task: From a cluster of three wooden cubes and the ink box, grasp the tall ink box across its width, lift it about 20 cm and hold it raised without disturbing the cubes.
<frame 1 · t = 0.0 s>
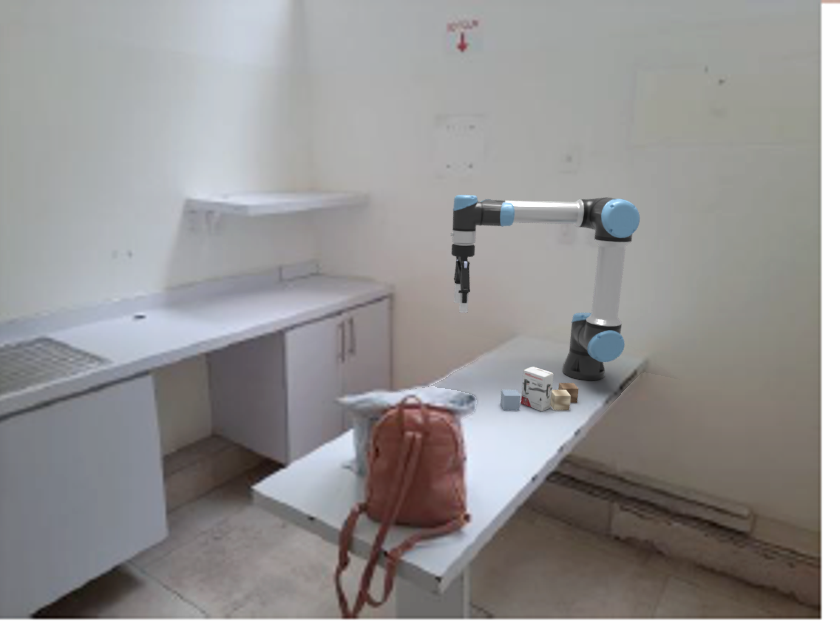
hand: (460, 307, 192), 28 cm above the table, fingers open, 13 cm apart
ink box: (535, 406, 185), on the table
cube maple: (559, 407, 184), on the table
cube walnut: (567, 400, 190), on the table
cube slate: (509, 407, 183), on the table
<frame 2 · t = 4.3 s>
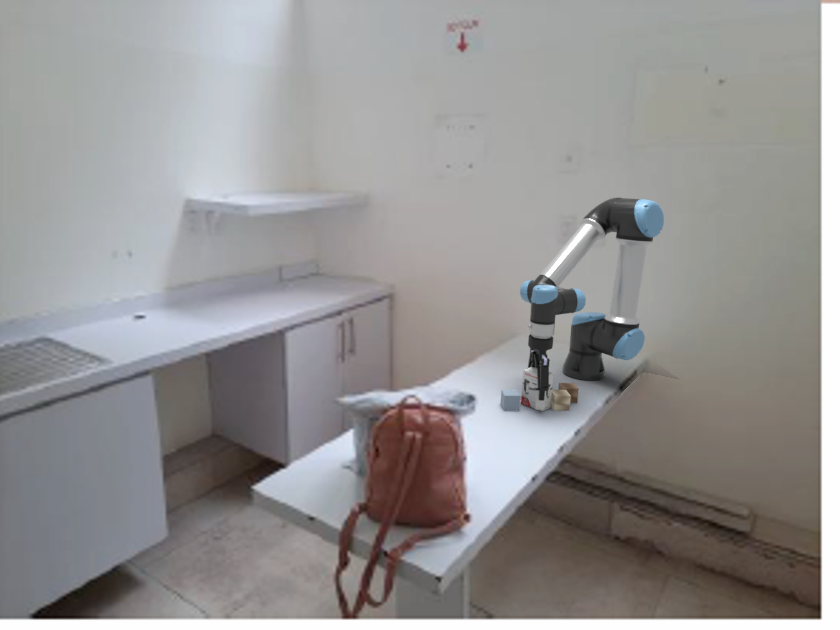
hand: (535, 402, 184), 1 cm above the table, fingers closed on ink box, 9 cm apart
ink box: (535, 406, 185), on the table, touching gripper
everything else where it was.
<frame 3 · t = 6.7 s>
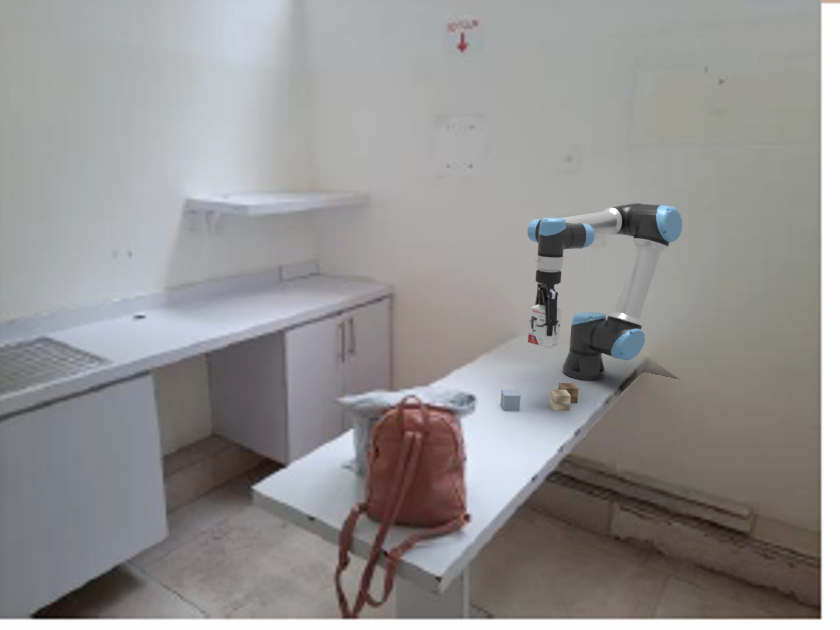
hand: (543, 340, 180), 21 cm above the table, fingers closed on ink box, 9 cm apart
ink box: (542, 344, 181), point 20 cm above the table, touching gripper
everything else where it was.
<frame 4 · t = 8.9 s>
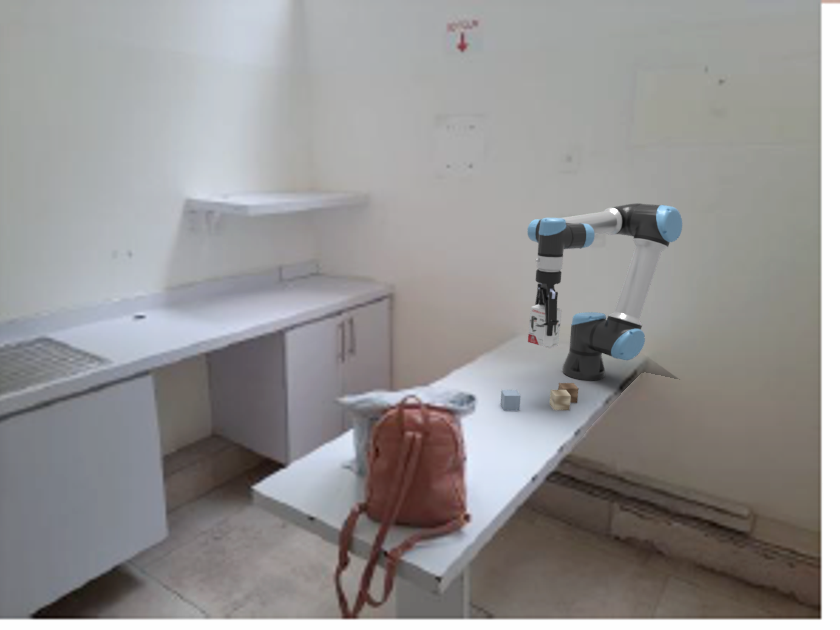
hand: (543, 340, 180), 21 cm above the table, fingers closed on ink box, 9 cm apart
ink box: (542, 344, 181), point 20 cm above the table, touching gripper
everything else where it was.
at the end: the gripper is holding ink box; ink box point 20.2 cm above the table; cube slate moved 0.1 cm from its start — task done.
